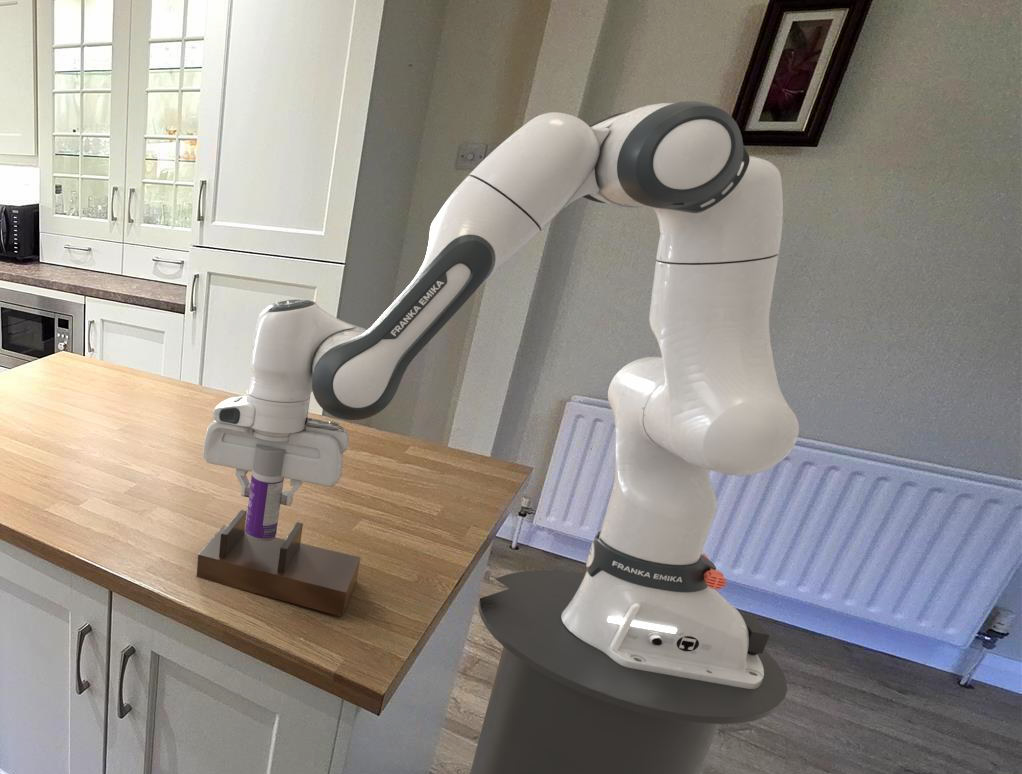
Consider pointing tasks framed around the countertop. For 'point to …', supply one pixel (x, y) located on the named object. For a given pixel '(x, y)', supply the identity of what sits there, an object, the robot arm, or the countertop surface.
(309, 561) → the brown two-slot stand
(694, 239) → the robot arm
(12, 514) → the countertop surface
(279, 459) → the container
